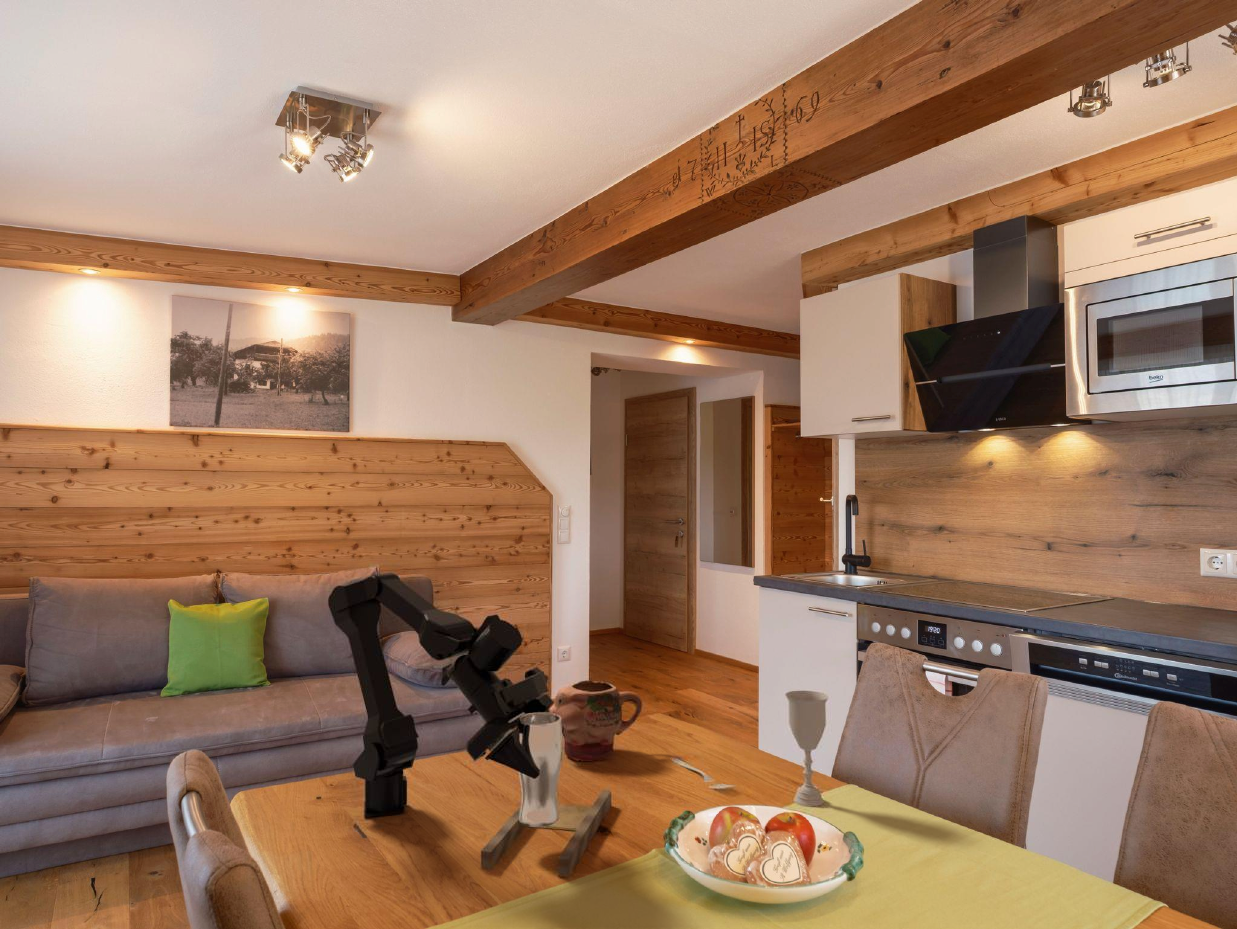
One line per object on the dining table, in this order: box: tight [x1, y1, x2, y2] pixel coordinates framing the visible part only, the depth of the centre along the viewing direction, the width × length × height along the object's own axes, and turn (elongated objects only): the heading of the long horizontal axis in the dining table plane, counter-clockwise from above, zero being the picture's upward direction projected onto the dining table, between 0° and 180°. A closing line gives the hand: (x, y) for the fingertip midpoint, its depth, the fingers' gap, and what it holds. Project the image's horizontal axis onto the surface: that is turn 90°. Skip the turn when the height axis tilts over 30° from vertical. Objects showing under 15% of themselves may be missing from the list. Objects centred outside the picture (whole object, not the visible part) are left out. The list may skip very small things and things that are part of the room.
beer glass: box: [516, 712, 564, 828], centre depth 120 cm, size 7×7×15 cm
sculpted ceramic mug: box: [548, 680, 643, 762], centre depth 164 cm, size 20×12×14 cm, turn 113°
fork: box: [671, 757, 737, 790], centre depth 152 cm, size 3×24×2 cm, turn 25°
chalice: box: [785, 690, 829, 807], centre depth 138 cm, size 7×7×18 cm
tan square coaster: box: [527, 803, 593, 832], centre depth 132 cm, size 9×10×1 cm
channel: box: [480, 789, 612, 878], centre depth 125 cm, size 26×13×2 cm, turn 167°
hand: (547, 768), depth 120 cm, fingers closed on beer glass, 7 cm apart
